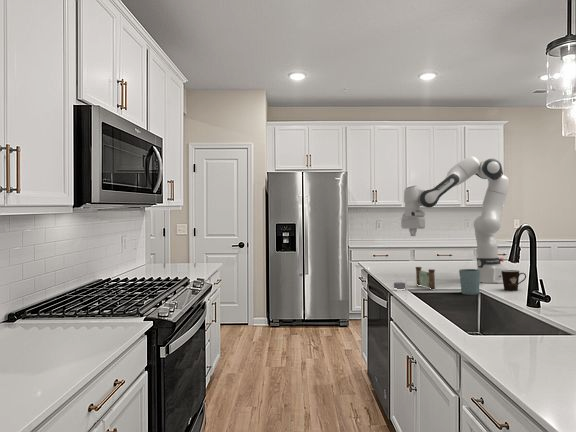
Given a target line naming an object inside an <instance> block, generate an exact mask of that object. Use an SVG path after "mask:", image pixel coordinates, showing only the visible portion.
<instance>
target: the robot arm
mask: <svg viewBox="0 0 576 432" xmlns="http://www.w3.org/2000/svg"><path fill="white" fill-rule="evenodd" d="M474 175H476V176H477V177H479V178H480V179H482V180H487V183H488V185H487V189H486V191H485V195H484V198H483V202H482V211H481V215H479V216H478V217H476V218H475V219H474V221H473V228H474V235H475V240H476V251H477V257H476V266H477V269H478V270H480V283H481V282H482V284H483V283H484V284H503V278H502V272H501V271H502V270H509V268H507V267H506V266H505V265H503V264H502V263H503V262H505V259H504V258H503V257H499V253H498V252H499V251H498V243H497V239H496V233H497V232H498V231H500V228H501V220H502V219H501V218H502V212H503V207H504V204H505V200H506V198H507V195H508V194H507V193H508V190H509V183H510V179H509V178H508V177H507V176H506V175H505V174H504V171H503V167H502V163H501V162H500V161H499V160H498V159H496V158H488V159H485V160H482V161H480V160H479V159H478V158H477V157H475V156H473V155H469V156H468V157H466V158H464V159H461V160H460V161H459V162H457V163H456V164H455V165H454V166H452V168H450V169H449V170H448V171H447V174H446V177H445V178H444V179H443V180H442V181H441V182H439V183H438V184H437V185H435V186H434V187H433V188H430V189H427V190H426V189H423V188H421V187H419V186H417V185H412V186H409V187H406V188H405V189H404V190H403V191H404V192H403V202H404V211H403V212H404V213H403V214H402V217H401V223H400V226H401V229H408V232H409V233H410V237H416V235H417V230H419V229H421V230H423V229H425V227H426V217H425V216H426V213H425V211H423V210H421V209H420V207H424V208H433V207H434V206H436V205H437V203H438V202H439V200H440V198H441V197H443V195H444V194H446V193H447V192H448V191H450V190H451V189H452V188H454V187H457V186H459V185H461V184H463V183H464V182H466V181H467V180H468V179H470V178H471V177H473V176H474ZM501 262H502V263H501Z"/></svg>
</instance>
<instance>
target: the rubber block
mask: <svg viewBox="0 0 576 432" xmlns="http://www.w3.org/2000/svg"><path fill="white" fill-rule="evenodd" d="M394 288H397V289H404V288H405V289H406V283H405V282H402V281H397V282H393V289H394Z"/></svg>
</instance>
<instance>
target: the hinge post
mask: <svg viewBox="0 0 576 432" xmlns="http://www.w3.org/2000/svg"><path fill="white" fill-rule="evenodd" d="M419 271H422V267H421V266H415V272H416V273H415V275H416V285H417V284H418V285H420V283H419Z"/></svg>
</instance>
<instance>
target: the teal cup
mask: <svg viewBox="0 0 576 432" xmlns="http://www.w3.org/2000/svg"><path fill="white" fill-rule="evenodd" d="M458 272H459V283H460V292H461V294H463V295H466V296H467V295H469V296H470V295H471V296H472V295H474V296H475V295H479V294H480V283H481V282H480V270H478V268H477V269H475V268H463V269H461V268H460V269H459V270H458Z"/></svg>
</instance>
